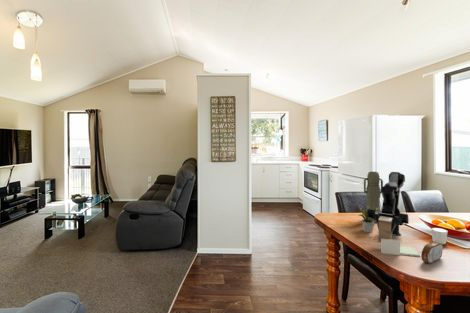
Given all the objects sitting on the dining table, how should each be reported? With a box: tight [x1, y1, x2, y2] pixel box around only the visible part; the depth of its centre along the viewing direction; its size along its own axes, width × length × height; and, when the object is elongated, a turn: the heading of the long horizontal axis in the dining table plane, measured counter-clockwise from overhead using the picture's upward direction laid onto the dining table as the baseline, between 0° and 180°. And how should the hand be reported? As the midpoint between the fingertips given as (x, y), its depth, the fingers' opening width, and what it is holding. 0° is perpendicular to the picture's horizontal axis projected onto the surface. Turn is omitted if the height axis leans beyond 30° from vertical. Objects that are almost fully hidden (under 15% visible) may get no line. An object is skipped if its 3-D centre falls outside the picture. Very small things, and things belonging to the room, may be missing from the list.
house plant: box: [357, 205, 378, 233], centre depth 154 cm, size 14×14×16 cm
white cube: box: [431, 227, 448, 245], centre depth 136 cm, size 7×7×7 cm
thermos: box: [363, 171, 384, 224], centre depth 174 cm, size 9×12×35 cm
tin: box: [420, 241, 444, 264], centre depth 115 cm, size 15×3×8 cm, turn 118°
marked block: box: [377, 216, 393, 244], centre depth 128 cm, size 6×6×12 cm
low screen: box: [380, 238, 401, 256], centre depth 123 cm, size 2×8×7 cm, turn 70°
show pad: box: [399, 245, 421, 258], centre depth 125 cm, size 9×9×1 cm
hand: (385, 230), depth 127 cm, fingers closed on marked block, 5 cm apart
